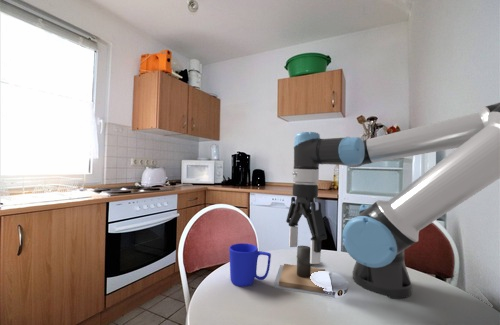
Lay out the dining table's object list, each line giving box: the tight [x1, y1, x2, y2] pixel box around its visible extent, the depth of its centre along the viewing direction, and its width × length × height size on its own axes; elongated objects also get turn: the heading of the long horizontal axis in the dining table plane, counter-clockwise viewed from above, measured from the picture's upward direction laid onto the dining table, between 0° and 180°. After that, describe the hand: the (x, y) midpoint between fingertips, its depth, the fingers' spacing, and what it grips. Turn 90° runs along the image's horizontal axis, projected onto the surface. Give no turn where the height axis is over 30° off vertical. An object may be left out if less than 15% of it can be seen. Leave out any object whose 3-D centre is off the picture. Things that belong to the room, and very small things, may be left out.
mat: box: [272, 264, 335, 299], centre depth 68 cm, size 16×16×1 cm
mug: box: [228, 242, 272, 288], centre depth 66 cm, size 8×12×10 cm
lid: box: [279, 245, 326, 293], centre depth 69 cm, size 13×13×9 cm
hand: (303, 254), depth 69 cm, fingers open, 13 cm apart
